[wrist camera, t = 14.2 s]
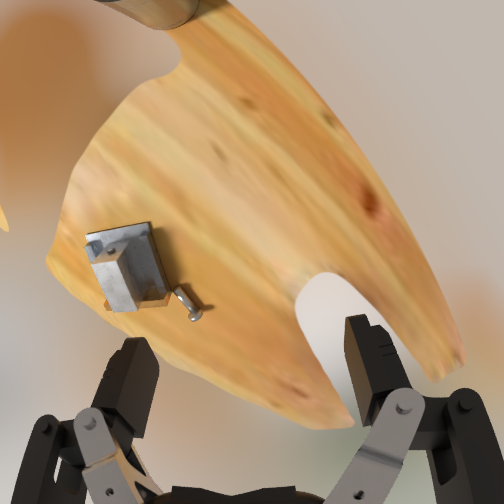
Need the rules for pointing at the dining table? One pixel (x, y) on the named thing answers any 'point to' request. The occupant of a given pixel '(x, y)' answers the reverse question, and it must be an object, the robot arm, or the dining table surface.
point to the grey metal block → (120, 276)
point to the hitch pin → (188, 304)
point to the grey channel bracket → (146, 255)
